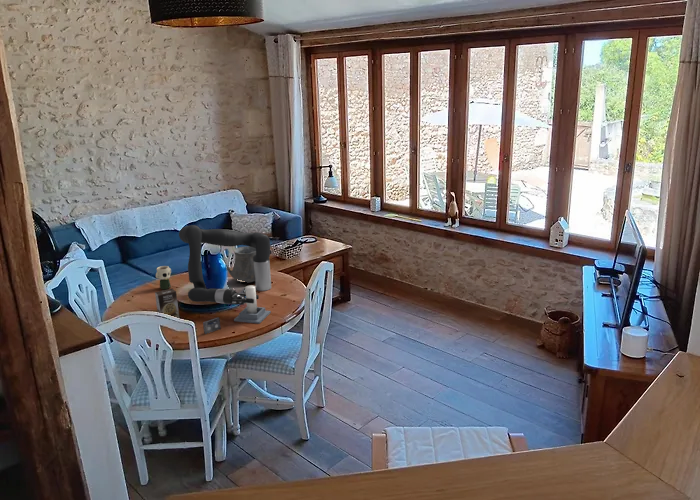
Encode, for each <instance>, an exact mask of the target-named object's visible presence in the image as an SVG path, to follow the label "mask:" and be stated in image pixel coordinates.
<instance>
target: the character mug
mask: <svg viewBox="0 0 700 500" xmlns="http://www.w3.org/2000/svg"><path fill="white" fill-rule="evenodd" d="M171 273H172V269H171V268H170V267H169V265H161V266H158V267H157V268H156V273H155V278H156V279H158V280H159V288H160V289H161V290H167V289H171V287H172V286H171V281H170V277H171Z"/></svg>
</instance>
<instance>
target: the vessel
mask: <svg viewBox="0 0 700 500" xmlns="http://www.w3.org/2000/svg"><path fill="white" fill-rule="evenodd" d="M233 252H234V261H233V267H232V270H231V269H230V267H229V266H228V265H226V266H227V268H226V271H227V272H228V273H229V274H230V276H231V277H232V278H233V279H234V280H235V279H238V280H242V281H245V282H247V283H246V284H248V283H249V284H250V283H253V282H254V283H255V275H254V263H253V256H254V255H256V248H254V247H250V246H240V247H236V248H234V250H233Z"/></svg>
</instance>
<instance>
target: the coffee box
mask: <svg viewBox="0 0 700 500" xmlns="http://www.w3.org/2000/svg"><path fill="white" fill-rule="evenodd" d="M154 295H155V303H156V304H155V305H156V309H157V310H156V311H157V312H159V313H164V314H168V315H171V316H174V317H177V318H179V319H180V313H179V306H178V297H177V291H176V290H175V289H173V288H168V289H162V290H160V291H159V290H158V291H155V292H154Z"/></svg>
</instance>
